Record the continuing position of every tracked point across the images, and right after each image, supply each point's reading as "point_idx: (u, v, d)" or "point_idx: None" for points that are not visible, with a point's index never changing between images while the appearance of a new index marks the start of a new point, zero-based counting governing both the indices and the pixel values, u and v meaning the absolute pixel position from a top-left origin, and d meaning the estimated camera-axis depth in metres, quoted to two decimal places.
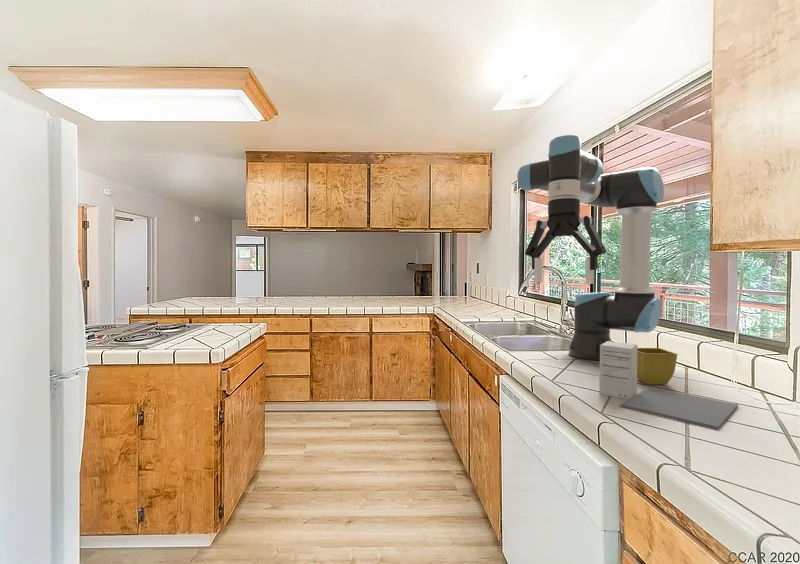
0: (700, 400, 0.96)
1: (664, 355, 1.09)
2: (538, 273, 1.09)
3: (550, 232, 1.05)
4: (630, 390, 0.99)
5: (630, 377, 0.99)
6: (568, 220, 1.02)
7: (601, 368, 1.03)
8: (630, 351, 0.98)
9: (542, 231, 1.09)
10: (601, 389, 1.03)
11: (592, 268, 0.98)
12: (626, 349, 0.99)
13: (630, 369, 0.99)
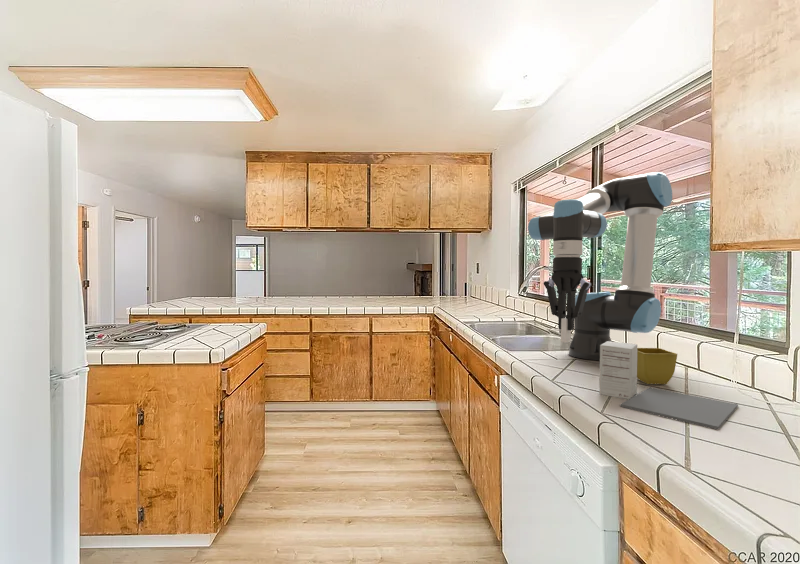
0: (700, 400, 0.96)
1: (664, 355, 1.09)
2: None
3: (560, 288, 1.13)
4: (630, 390, 0.99)
5: (630, 377, 0.99)
6: (573, 274, 1.11)
7: (601, 368, 1.03)
8: (630, 351, 0.98)
9: (553, 288, 1.16)
10: (601, 389, 1.03)
11: (569, 329, 1.12)
12: (626, 349, 0.99)
13: (630, 369, 0.99)
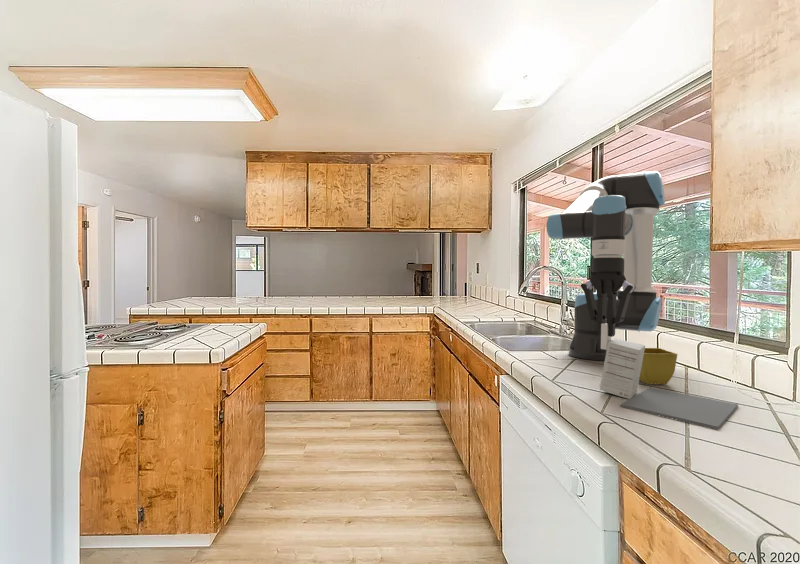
0: (700, 400, 0.96)
1: (664, 355, 1.09)
2: None
3: (600, 291, 1.05)
4: (631, 390, 0.99)
5: (634, 377, 0.98)
6: (614, 276, 1.02)
7: (605, 365, 1.02)
8: (638, 352, 0.97)
9: (591, 291, 1.08)
10: (602, 386, 1.03)
11: (610, 335, 1.04)
12: (634, 350, 0.98)
13: (635, 370, 0.98)
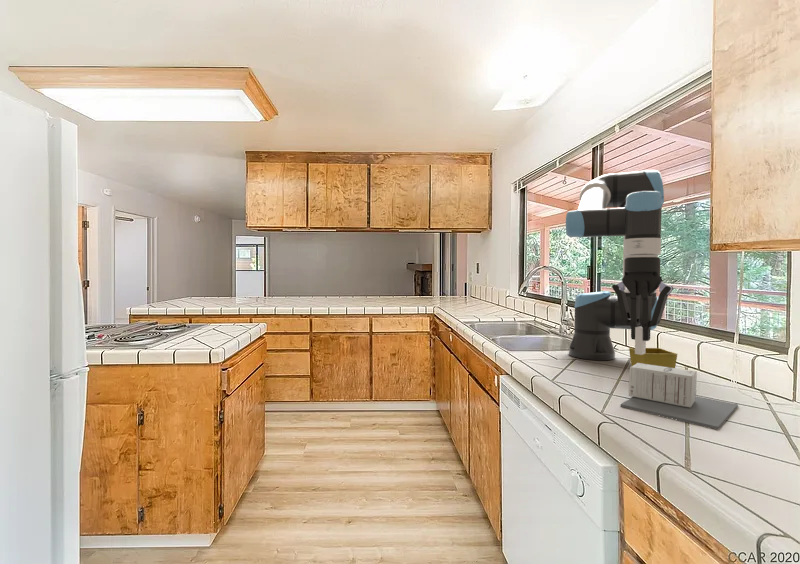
0: (700, 400, 0.96)
1: (664, 355, 1.09)
2: None
3: (634, 292, 0.99)
4: (639, 397, 0.98)
5: (654, 400, 0.95)
6: (650, 276, 0.97)
7: (661, 373, 0.94)
8: (687, 406, 0.91)
9: (623, 293, 1.02)
10: (634, 370, 0.98)
11: (645, 339, 0.98)
12: (689, 402, 0.91)
13: (664, 402, 0.94)
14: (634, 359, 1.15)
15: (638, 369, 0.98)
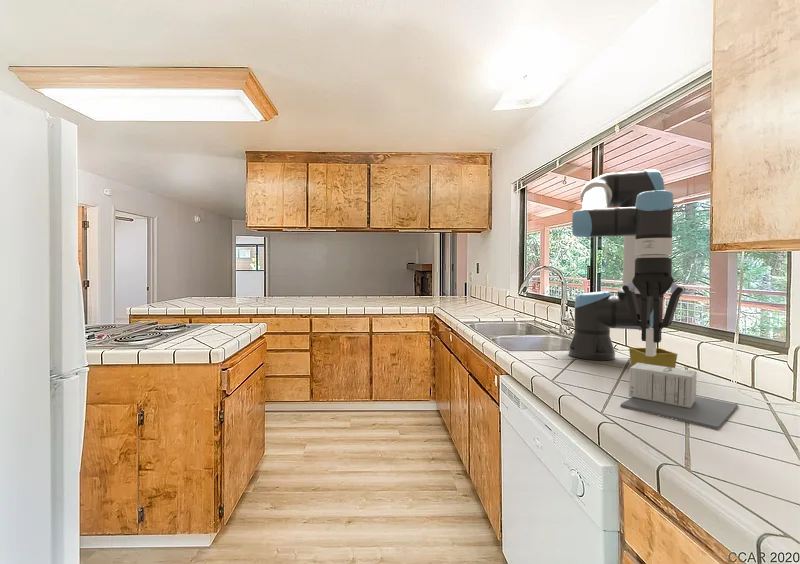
0: (700, 400, 0.96)
1: (664, 355, 1.09)
2: None
3: (644, 293, 0.97)
4: (639, 397, 0.98)
5: (654, 400, 0.95)
6: (661, 277, 0.95)
7: (661, 374, 0.94)
8: (687, 406, 0.91)
9: (633, 294, 1.01)
10: (634, 370, 0.98)
11: (656, 341, 0.96)
12: (689, 403, 0.91)
13: (664, 402, 0.94)
14: (634, 359, 1.15)
15: (638, 370, 0.97)
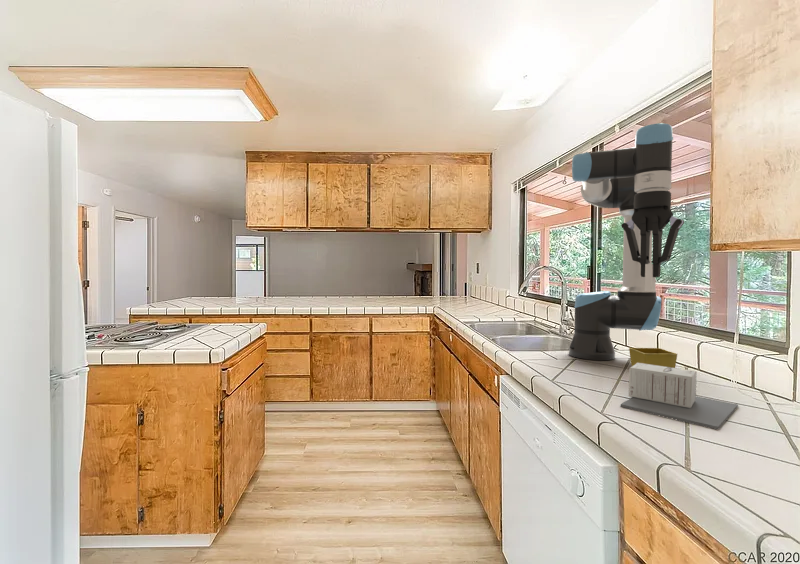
0: (700, 400, 0.96)
1: (664, 355, 1.09)
2: None
3: (644, 228, 0.97)
4: (639, 397, 0.98)
5: (654, 400, 0.95)
6: (661, 211, 0.95)
7: (661, 374, 0.94)
8: (687, 406, 0.91)
9: (632, 231, 1.01)
10: (634, 370, 0.98)
11: (655, 275, 0.97)
12: (689, 403, 0.91)
13: (664, 402, 0.94)
14: (634, 359, 1.15)
15: (638, 370, 0.97)
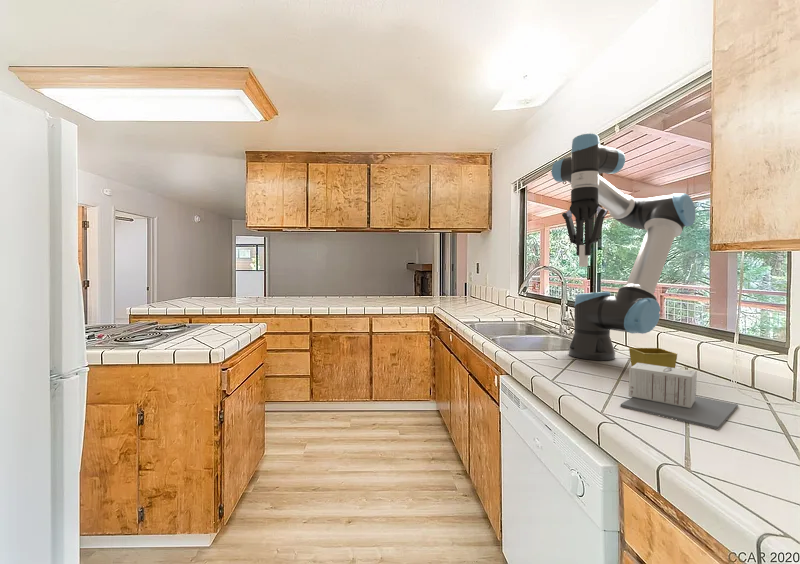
0: (700, 400, 0.96)
1: (664, 355, 1.09)
2: None
3: (578, 217, 1.23)
4: (639, 397, 0.98)
5: (654, 400, 0.95)
6: (590, 202, 1.20)
7: (661, 374, 0.94)
8: (687, 406, 0.91)
9: (571, 219, 1.26)
10: (634, 370, 0.98)
11: (587, 254, 1.22)
12: (689, 403, 0.91)
13: (664, 402, 0.94)
14: (634, 359, 1.15)
15: (638, 370, 0.97)
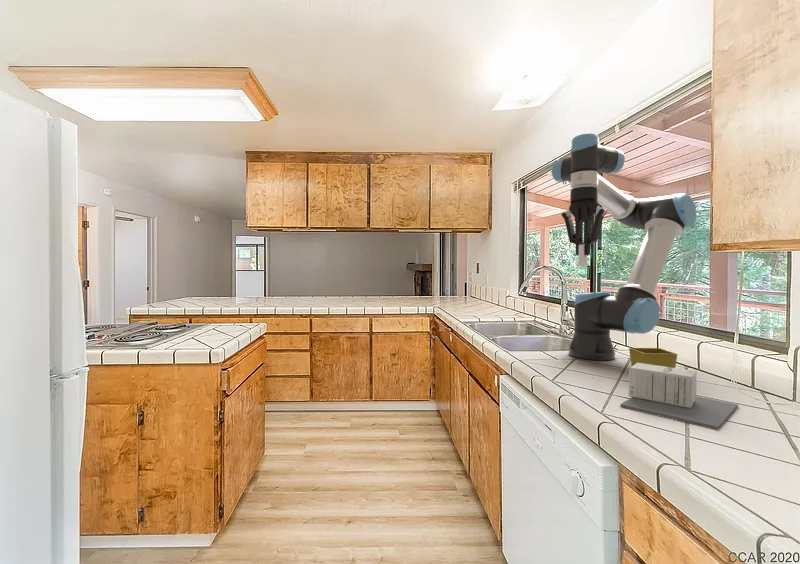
0: (700, 400, 0.96)
1: (664, 355, 1.09)
2: None
3: (577, 216, 1.23)
4: (639, 397, 0.98)
5: (654, 400, 0.95)
6: (589, 202, 1.21)
7: (661, 374, 0.94)
8: (687, 406, 0.91)
9: (570, 219, 1.26)
10: (634, 370, 0.98)
11: (586, 253, 1.22)
12: (689, 403, 0.91)
13: (664, 402, 0.94)
14: (634, 359, 1.15)
15: (638, 370, 0.97)
